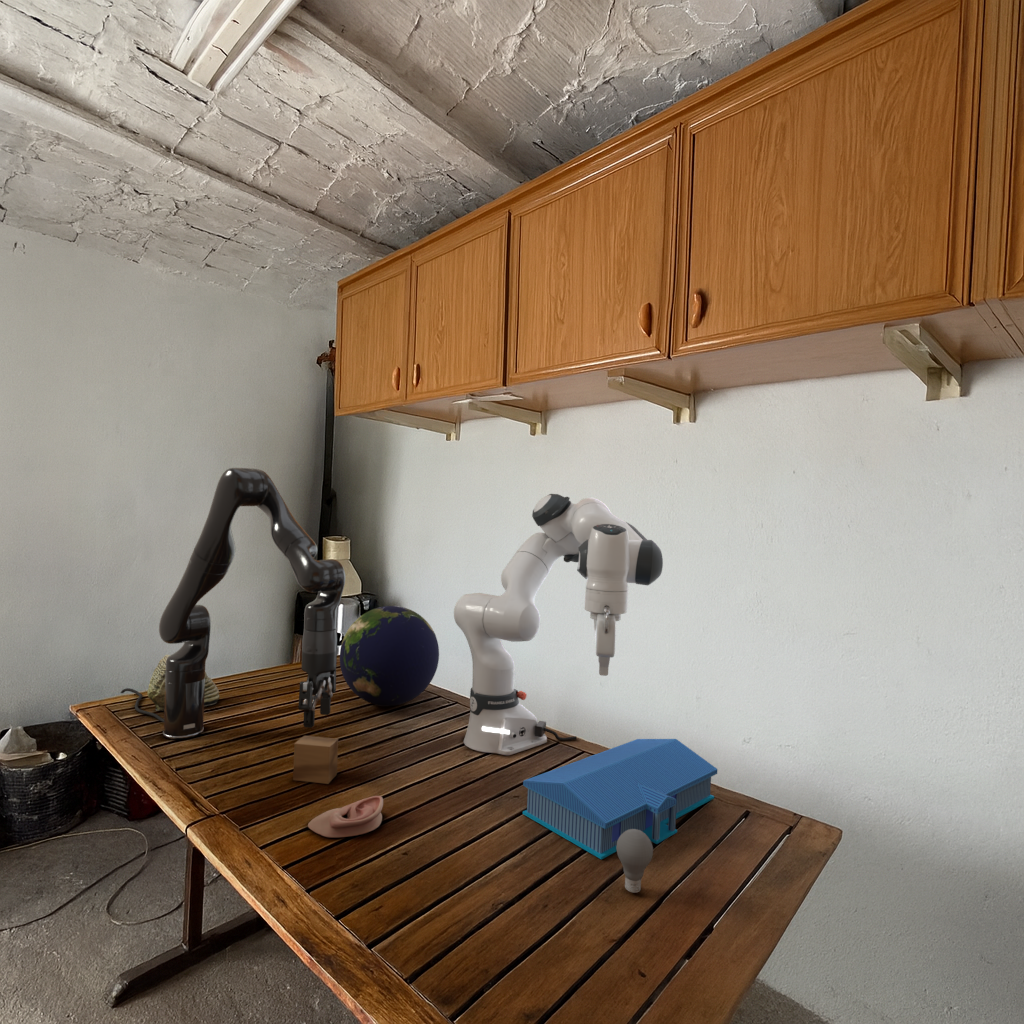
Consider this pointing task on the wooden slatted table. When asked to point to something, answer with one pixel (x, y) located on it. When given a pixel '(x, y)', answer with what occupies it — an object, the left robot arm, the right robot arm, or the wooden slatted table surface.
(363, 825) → the anatomical model
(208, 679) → the fossil
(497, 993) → the wooden slatted table surface
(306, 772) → the block
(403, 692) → the globe
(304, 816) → the wooden slatted table surface
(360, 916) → the wooden slatted table surface
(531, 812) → the model building
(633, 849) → the light bulb
